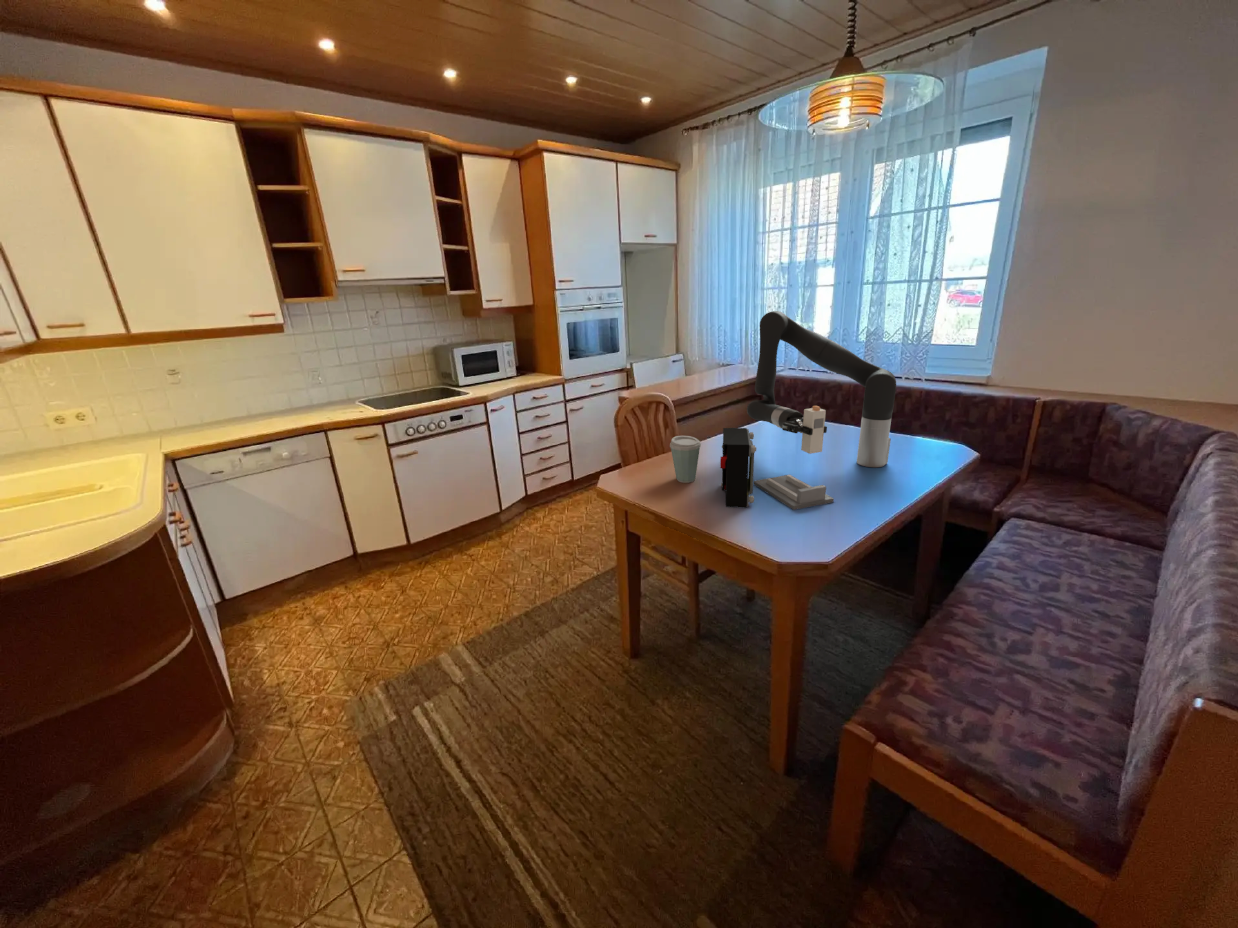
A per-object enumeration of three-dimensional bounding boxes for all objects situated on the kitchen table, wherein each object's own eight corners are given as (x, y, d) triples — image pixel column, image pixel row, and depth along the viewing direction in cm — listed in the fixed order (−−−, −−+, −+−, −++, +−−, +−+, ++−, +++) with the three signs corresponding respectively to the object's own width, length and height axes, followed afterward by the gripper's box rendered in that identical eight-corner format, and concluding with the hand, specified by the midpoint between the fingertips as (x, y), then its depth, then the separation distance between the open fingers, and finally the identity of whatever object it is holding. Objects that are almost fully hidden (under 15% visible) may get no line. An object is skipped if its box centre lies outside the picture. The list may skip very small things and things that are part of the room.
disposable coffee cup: (704, 476, 174) (704, 435, 169) (695, 487, 165) (695, 444, 160) (676, 473, 179) (675, 433, 173) (666, 483, 169) (665, 442, 164)
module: (813, 447, 165) (817, 403, 160) (822, 452, 161) (826, 406, 156) (801, 449, 164) (804, 405, 159) (810, 454, 160) (814, 408, 155)
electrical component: (754, 507, 148) (756, 444, 141) (719, 506, 150) (720, 444, 143) (751, 485, 164) (753, 428, 157) (720, 484, 166) (721, 428, 159)
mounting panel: (789, 477, 169) (790, 463, 167) (833, 502, 149) (835, 486, 147) (753, 484, 165) (754, 469, 163) (793, 509, 145) (794, 493, 143)
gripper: (769, 411, 170) (800, 422, 155) (805, 406, 174) (838, 417, 158) (768, 431, 173) (799, 445, 157) (803, 426, 176) (836, 439, 161)
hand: (818, 431), depth 158 cm, fingers closed on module, 4 cm apart
